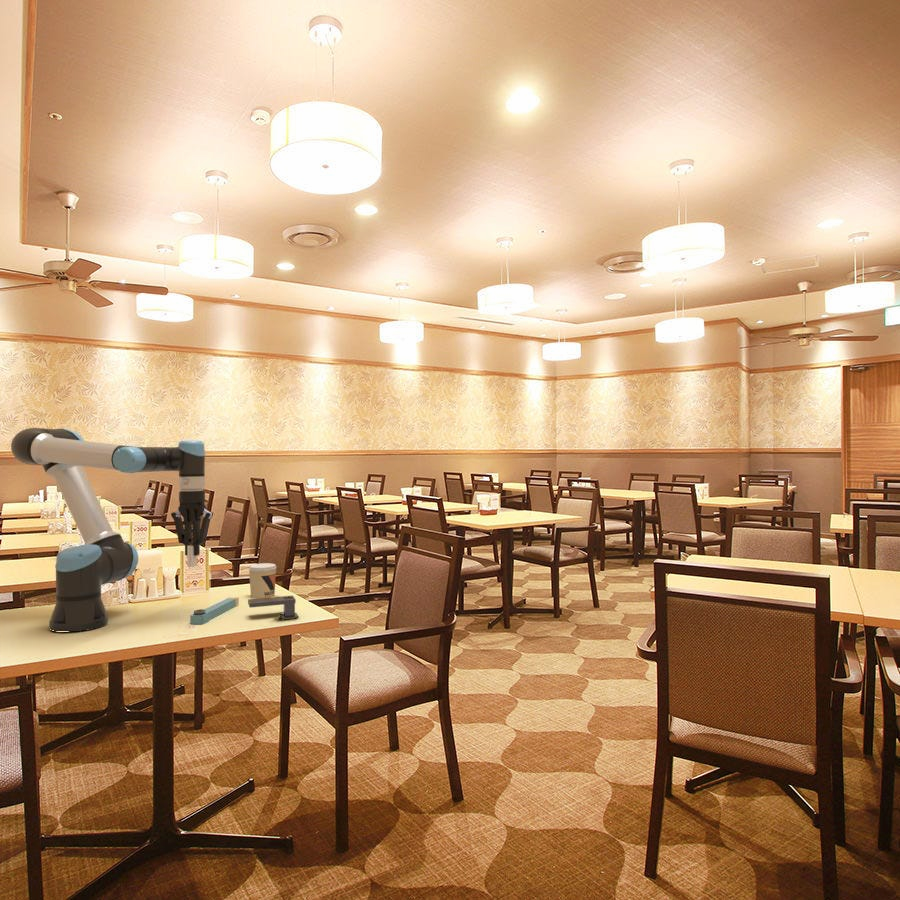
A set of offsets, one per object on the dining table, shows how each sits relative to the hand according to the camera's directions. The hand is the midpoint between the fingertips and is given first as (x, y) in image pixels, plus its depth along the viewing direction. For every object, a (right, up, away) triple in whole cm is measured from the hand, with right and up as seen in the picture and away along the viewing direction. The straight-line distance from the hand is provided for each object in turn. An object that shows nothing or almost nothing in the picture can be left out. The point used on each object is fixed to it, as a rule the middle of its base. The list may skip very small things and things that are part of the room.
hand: (192, 566), depth 199 cm
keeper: (+26, -16, -1) cm, 30 cm away
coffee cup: (+14, -17, +26) cm, 34 cm away
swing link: (+7, -15, +1) cm, 17 cm away
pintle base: (+6, -16, -9) cm, 20 cm away
